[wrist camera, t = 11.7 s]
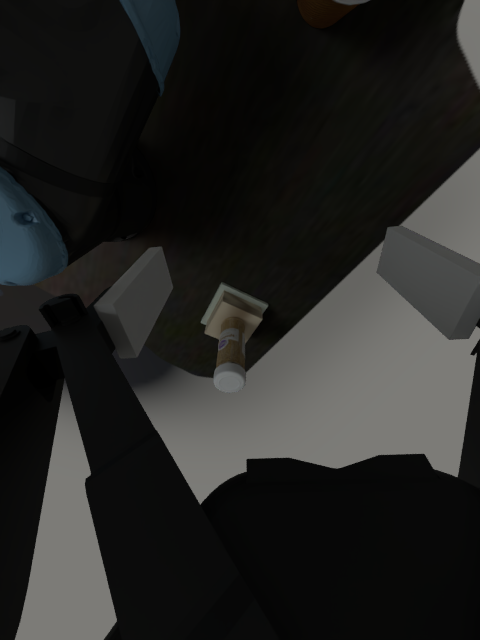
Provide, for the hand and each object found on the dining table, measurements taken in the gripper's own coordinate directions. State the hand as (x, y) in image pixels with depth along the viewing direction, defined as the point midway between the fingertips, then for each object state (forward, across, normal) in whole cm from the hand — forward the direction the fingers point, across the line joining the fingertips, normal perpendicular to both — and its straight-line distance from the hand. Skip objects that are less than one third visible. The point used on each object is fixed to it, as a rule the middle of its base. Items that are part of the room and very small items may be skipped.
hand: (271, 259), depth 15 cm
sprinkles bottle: (+22, -5, -21) cm, 31 cm away
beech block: (+26, -6, -21) cm, 34 cm away
